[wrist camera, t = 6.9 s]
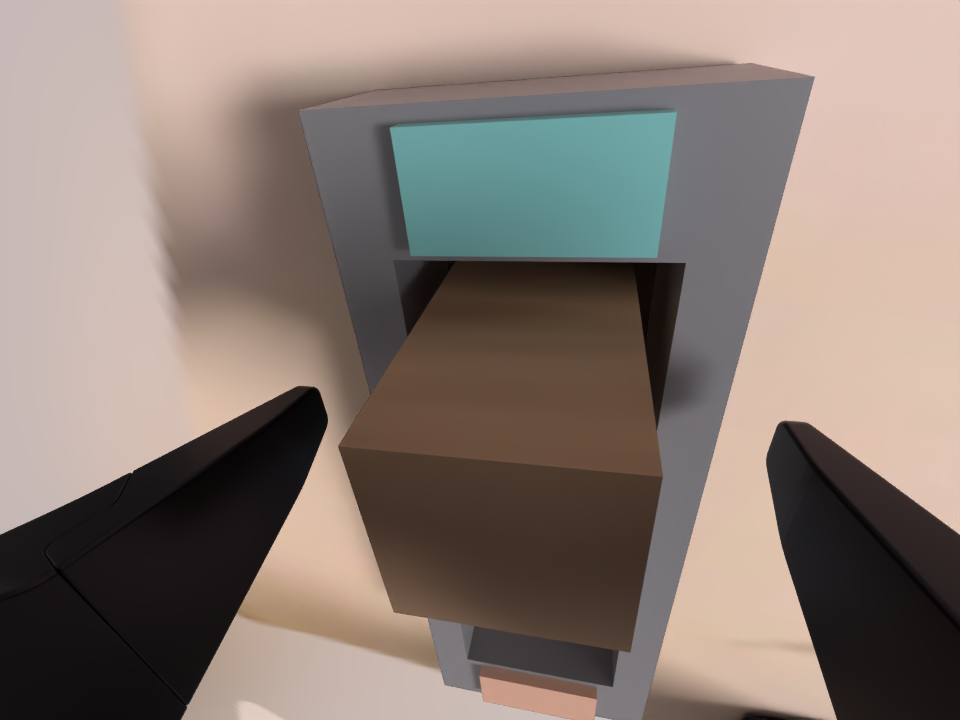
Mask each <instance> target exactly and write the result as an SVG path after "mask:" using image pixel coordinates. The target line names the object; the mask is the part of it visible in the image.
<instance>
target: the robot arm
mask: <svg viewBox="0 0 960 720" xmlns="http://www.w3.org/2000/svg"><path fill="white" fill-rule="evenodd" d="M327 424H328V416H327V413H326V410H325V407H324V404H323V400H322V397H321V394H320V392H319V390H318V389H317V388H315V387H309V386H297V387H295V388H293V389H291V390H289V391H287V392H285V393H283V394H281V395H279V396H277V397H275V398H274V399H272V400H270V401H268V402H266V403H264V404H262V405H260V406H258V407H256V408H254V409H252V410H250V411H248V412H246V413H244V414H243V415H241V416H239V417H237V418H235V419H233V420H231V421H229V422H227V423H225V424H223V425H221V426H219V427H217V428H215V429H213V430H212V431H210V432H208V433H206V434H204V435H202V436H200V437H198V438H196V439H194V440H192V441H190V442H188V443H186V444H184V445H182V446H181V447H179V448H177V449H175V450H173V451H171V452H169V453H167V454H165V455H163V456H161V457H159V458H158V459H156V460H153V461H151V462H150V463H148V464H146V465H144V466H142V467H140V468H138V469H136V470H134V471H133V473H128V474H126V475H124V476H122V477H120V478H119V479H116V480H115V481H113V482H111V483H109V484H107V485H105V486H103V487H101V488H99V489H97V490H95V491H93V492H91V493H89V494H87V495H85V496H83V497H81V498H79V499H77V500H74V501H72V502H70V503H68V504H66V505H64V506H62V507H60V508H58V509H56V510H53V511H51V512H49V513H47V514H45V515H42V516H40V517H38V518H36V519H34V520H32V521H30V522H27V523H25V524H23V525H21V526H18V527H16V528H14V529H12V530H10V531H7V532H5V533H4V534H1V535H0V720H181V719H182V717H183V715H184V713H185V711H186V709H187V706H186V705H188V704H189V703H190V701H191V699H192V697H193V695H194V693H195V691H196V689H197V688H198V686H199V684H200V682H201V680H202V678H203V676H204V674H205V672H206V670H207V669H208V666H209V665H210V663H211V661H212V659H213V657H214V655H215V653H216V651H217V650H218V647H219V646H220V644H221V642H222V640H223V638H224V636H225V634H226V632H227V630H228V628H229V627H230V625H231V623H232V621H233V619H234V617H235V615H236V613H237V611H238V610H239V608H240V606H241V604H242V602H243V600H244V598H245V596H246V594H247V592H248V591H249V589H250V587H251V585H252V583H253V581H254V579H255V577H256V575H257V573H258V572H259V570H260V568H261V566H262V564H263V562H264V560H265V558H266V556H267V554H268V553H269V551H270V549H271V547H272V545H273V543H274V541H275V539H276V537H277V535H278V534H279V532H280V530H281V528H282V526H283V524H284V522H285V520H286V518H287V516H288V515H289V513H290V511H291V509H292V507H293V505H294V503H295V501H296V499H297V497H298V495H299V493H300V491H301V489H302V487H303V485H304V483H305V480H306V478H307V476H308V473H309V471H310V468H311V466H312V463H313V461H314V458H315V456H316V453H317V451H318V448H319V446H320V443H321V441H322V438H323V436H324V433H325V430H326V428H327ZM766 466H767V472H768V477H769V483H770V488H771V493H772V498H773V504H774V509H775V514H776V520H777V525H778V530H779V535H780V540H781V545H782V548H783V552H784V555H785V559H786V562H787V565H788V568H789V571H790V574H791V577H792V580H793V584H794V587H795V590H796V593H797V596H798V599H799V602H800V605H801V609H802V612H803V615H804V618H805V621H806V624H807V627H808V630H809V634H810V637H811V640H812V643H813V646H814V649H815V652H816V655H817V658H818V662H819V665H820V668H821V671H822V674H823V677H824V680H825V683H826V687H827V690H828V693H829V696H830V699H831V702H832V705H833V708H834V712H835V715H836V718H837V720H960V534H958V533H957V532H956V531H954V530H953V529H951V528H950V527H949V526H947V525H946V524H945V523H943V522H942V521H941V520H939V519H938V518H937V517H935V516H934V515H932V514H931V513H930V512H928V511H927V510H926V509H924V508H923V507H922V506H920V505H919V504H918V503H916V502H915V501H913V500H912V499H911V498H909V497H908V496H907V495H905V494H904V493H903V492H901V491H900V490H899V489H897V488H896V487H895V486H893V485H892V484H890V483H889V482H888V481H886V480H885V479H884V478H882V477H881V476H880V475H878V474H877V473H876V472H874V471H873V470H871V469H870V468H869V467H867V466H866V465H865V464H863V463H862V462H861V461H859V460H858V459H857V458H855V457H854V456H852V455H851V454H850V453H848V452H847V451H846V450H844V449H843V448H842V447H840V446H839V445H838V444H836V443H835V442H834V441H832V440H831V439H829V438H828V437H827V436H825V435H824V434H823V433H821V432H820V431H819V430H817V429H816V428H815V427H813V426H812V425H810V424H809V423H806V422H797V421H782V422H780V423H779V424H778V426H777V428H776V430H775V433H774V436H773V439H772V442H771V445H770V447H769V450H768V453H767V458H766ZM743 720H769V719H764V718H758V717H745V718H744V719H743Z"/></svg>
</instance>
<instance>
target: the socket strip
mask: <svg viewBox="0 0 960 720" xmlns="http://www.w3.org/2000/svg"><path fill="white" fill-rule="evenodd" d="M813 81H814V76H809V75H804V74H800V73H795V72H790V71H785V70H781V69H776V68H771V67H767V66H762V65H757V64H753V63H747V64H733V65H719V66H705V67H691V68H677V69H663V70H650V71H636V72H622V73H608V74H594V75H580V76H567V77H553V78H539V79H525V80H511V81H497V82H483V83H470V84H456V85H442V86H428V87H414V88H400V89H386V90H374V91H371V92H367V93H363V94H359V95H355V96H351V97H348V98H344V99H340V100H336V101H332V102H328V103H324V104H321V105H317V106H313V107H309V108H305V109H301V110H298V111H299V115H300V119H301V123H302V127H303V131H304V135H305V139H306V142H307V146H308V150H309V154H310V158H311V162H312V166H313V170H314V174H315V178H316V182H317V186H318V190H319V194H320V197H321V201H322V205H323V209H324V213H325V217H326V221H327V225H328V229H329V233H330V237H331V241H332V245H333V248H334V252H335V256H336V260H337V264H338V268H339V272H340V276H341V280H342V284H343V288H344V292H345V296H346V299H347V303H348V307H349V311H350V315H351V319H352V323H353V327H354V331H355V335H356V339H357V343H358V347H359V350H360V354H361V358H362V362H363V366H364V370H365V374H366V378H367V382H368V386H369V390H370V394H372V392H373V391H374V389H375V387H376V386H377V384H378V383H379V381H380V380H381V378H382V376H383V375H384V373H385V372H386V370H387V368H388V367H389V365H390V364H391V362H392V361H393V359H394V357H395V356H396V354H397V353H398V351H399V350H400V348H401V346H402V345H403V343H404V342H405V340H406V339H407V337H408V335H409V334H410V332H411V331H412V329H413V327H414V326H415V324H416V323H417V321H418V320H419V318H420V316H421V315H422V313H423V312H424V310H425V309H426V307H427V305H428V304H429V302H430V301H431V299H432V297H433V296H434V294H435V293H436V291H437V290H438V288H439V286H440V285H441V283H442V282H443V280H444V279H445V277H446V275H447V274H448V265H447V261H538V262H648V263H657V267H656V274H655V281H654V289H653V296H652V303H651V310H650V318H649V325H648V332H647V340H646V347H645V350H646V358H647V365H648V372H649V379H650V386H651V394H652V401H653V408H654V415H655V422H656V430H657V437H658V444H659V451H660V458H661V466H662V473H663V480H662V485H661V491H660V496H659V501H658V507H657V512H656V518H655V523H654V528H653V534H652V539H651V545H650V550H649V555H648V561H647V566H646V571H645V577H644V582H643V588H642V593H641V598H640V604H639V609H638V615H637V620H636V625H635V631H634V636H633V641H632V647H631V652H630V653H629V652H623V651H617V650H612V649H606V648H600V647H594V646H588V645H582V644H577V643H571V642H565V641H559V640H553V639H547V638H541V637H536V636H530V635H524V634H518V633H512V632H506V631H501V630H495V629H489V628H483V627H477V626H471V625H466V624H460V623H454V622H448V621H442V620H436V619H430V618H428V621H429V625H430V629H431V633H432V637H433V641H434V645H435V649H436V653H437V657H438V661H439V664H440V668H441V672H442V676H443V680H444V684H445V685H447V686H452V687H457V688H462V689H467V690H472V691H476V692H481V693H482V695H483V701H485V702H491V703H495V704H500V705H504V706H509V707H514V708H519V709H524V710H528V711H533V712H538V713H543V714H547V715H552V716H557V717H562V718H567V719H571V720H594V717H595V716H598V717H603V718H607V719H612V720H642V717H643V713H644V710H645V706H646V702H647V698H648V695H649V691H650V687H651V684H652V680H653V676H654V672H655V669H656V665H657V661H658V658H659V654H660V650H661V646H662V643H663V639H664V635H665V632H666V628H667V624H668V620H669V617H670V613H671V609H672V605H673V602H674V598H675V594H676V591H677V587H678V583H679V579H680V576H681V572H682V568H683V565H684V561H685V557H686V553H687V550H688V546H689V542H690V539H691V535H692V531H693V527H694V524H695V520H696V516H697V512H698V509H699V505H700V501H701V498H702V494H703V490H704V486H705V483H706V479H707V475H708V472H709V468H710V464H711V460H712V457H713V453H714V449H715V446H716V442H717V438H718V434H719V431H720V427H721V423H722V419H723V416H724V412H725V408H726V405H727V401H728V397H729V393H730V390H731V386H732V382H733V379H734V375H735V371H736V367H737V364H738V360H739V356H740V353H741V349H742V345H743V341H744V338H745V334H746V330H747V327H748V323H749V319H750V315H751V312H752V308H753V304H754V300H755V297H756V293H757V289H758V286H759V282H760V278H761V274H762V271H763V267H764V263H765V260H766V256H767V252H768V248H769V245H770V241H771V237H772V234H773V230H774V226H775V222H776V219H777V215H778V211H779V207H780V204H781V200H782V196H783V193H784V189H785V185H786V181H787V178H788V174H789V170H790V167H791V163H792V159H793V155H794V152H795V148H796V144H797V141H798V137H799V133H800V129H801V126H802V122H803V118H804V114H805V111H806V107H807V103H808V100H809V96H810V92H811V88H812V85H813Z"/></svg>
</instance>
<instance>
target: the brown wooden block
mask: <svg viewBox="0 0 960 720" xmlns="http://www.w3.org/2000/svg"><path fill="white" fill-rule="evenodd" d="M338 447H339V450H340V453H341V456H342V459H343V462H344V465H345V468H346V471H347V474H348V477H349V480H350V483H351V486H352V489H353V492H354V495H355V498H356V501H357V504H358V507H359V510H360V513H361V516H362V519H363V522H364V525H365V528H366V531H367V534H368V537H369V540H370V543H371V546H372V549H373V552H374V555H375V558H376V561H377V564H378V567H379V570H380V573H381V576H382V579H383V582H384V585H385V588H386V591H387V594H388V596H389V599H390V602H391V605H392V608H393V611H394V612H395V613H401V614H407V615H413V616H419V617H425V618H430V619H436V620H442V621H448V622H454V623H460V624H466V625H471V626H477V627H483V628H489V629H495V630H501V631H506V632H512V633H518V634H524V635H530V636H536V637H541V638H547V639H553V640H559V641H565V642H571V643H577V644H582V645H588V646H594V647H600V648H606V649H612V650H617V651H623V652H629V653H630V652H631V647H632V641H633V636H634V631H635V625H636V620H637V615H638V609H639V604H640V598H641V593H642V588H643V582H644V577H645V571H646V566H647V561H648V555H649V550H650V545H651V539H652V534H653V528H654V523H655V518H656V512H657V507H658V501H659V496H660V491H661V485H662V480H663V473H662V466H661V458H660V451H659V444H658V437H657V430H656V422H655V415H654V408H653V401H652V394H651V386H650V379H649V372H648V365H647V358H646V350H645V343H644V336H643V329H642V322H641V314H640V307H639V300H638V293H637V286H636V278H635V271H634V264H633V262H538V261H455V263H454V264H453V266H452V267H451V269H450V271H449V272H448V274H447V275H446V277H445V279H444V280H443V282H442V283H441V285H440V286H439V288H438V290H437V291H436V293H435V294H434V296H433V297H432V299H431V301H430V302H429V304H428V305H427V307H426V309H425V310H424V312H423V313H422V315H421V316H420V318H419V320H418V321H417V323H416V324H415V326H414V327H413V329H412V331H411V332H410V334H409V335H408V337H407V339H406V340H405V342H404V343H403V345H402V346H401V348H400V350H399V351H398V353H397V354H396V356H395V357H394V359H393V361H392V362H391V364H390V365H389V367H388V368H387V370H386V372H385V373H384V375H383V376H382V378H381V380H380V381H379V383H378V384H377V386H376V387H375V389H374V391H373V392H372V394H371V395H370V397H369V398H368V400H367V402H366V403H365V405H364V406H363V408H362V410H361V411H360V413H359V414H358V416H357V417H356V419H355V421H354V422H353V424H352V425H351V427H350V428H349V430H348V432H347V433H346V435H345V436H344V438H343V440H342V441H341V443H340V444H339V446H338Z"/></svg>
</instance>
